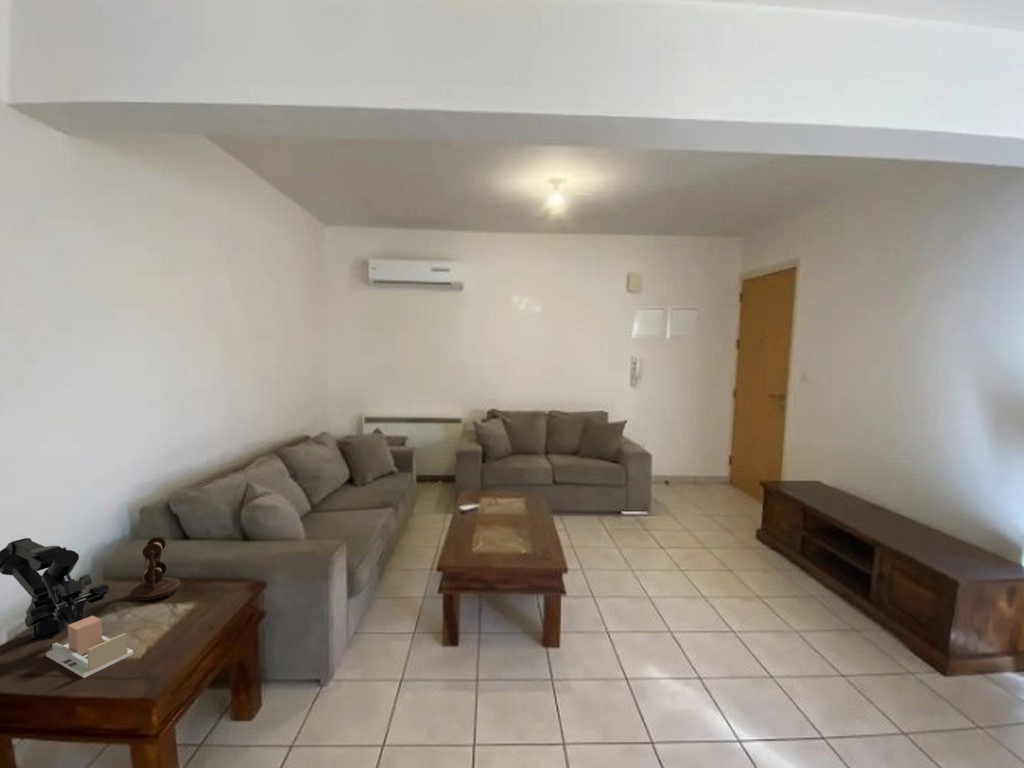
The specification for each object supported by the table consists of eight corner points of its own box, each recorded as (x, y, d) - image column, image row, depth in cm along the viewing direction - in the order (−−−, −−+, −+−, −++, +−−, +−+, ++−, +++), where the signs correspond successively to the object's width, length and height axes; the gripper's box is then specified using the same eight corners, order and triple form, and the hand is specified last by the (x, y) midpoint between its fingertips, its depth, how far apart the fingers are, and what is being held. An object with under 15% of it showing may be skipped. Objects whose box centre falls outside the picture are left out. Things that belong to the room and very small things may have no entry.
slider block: (69, 651, 144) (67, 625, 144) (93, 641, 150) (92, 615, 149) (77, 656, 142) (76, 629, 141) (102, 645, 147) (101, 619, 147)
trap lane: (46, 656, 144) (44, 632, 144) (95, 635, 155) (94, 613, 154) (83, 677, 135) (82, 653, 134) (133, 654, 146) (132, 631, 145)
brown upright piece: (136, 588, 185) (134, 536, 184) (183, 581, 191) (181, 530, 190) (125, 607, 172) (123, 551, 170) (176, 599, 178) (174, 544, 176)
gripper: (26, 582, 140) (48, 630, 135) (105, 558, 156) (126, 600, 152) (15, 603, 144) (36, 650, 139) (93, 577, 160) (113, 618, 156)
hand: (80, 628), depth 147 cm, fingers closed, pressing on slider block
